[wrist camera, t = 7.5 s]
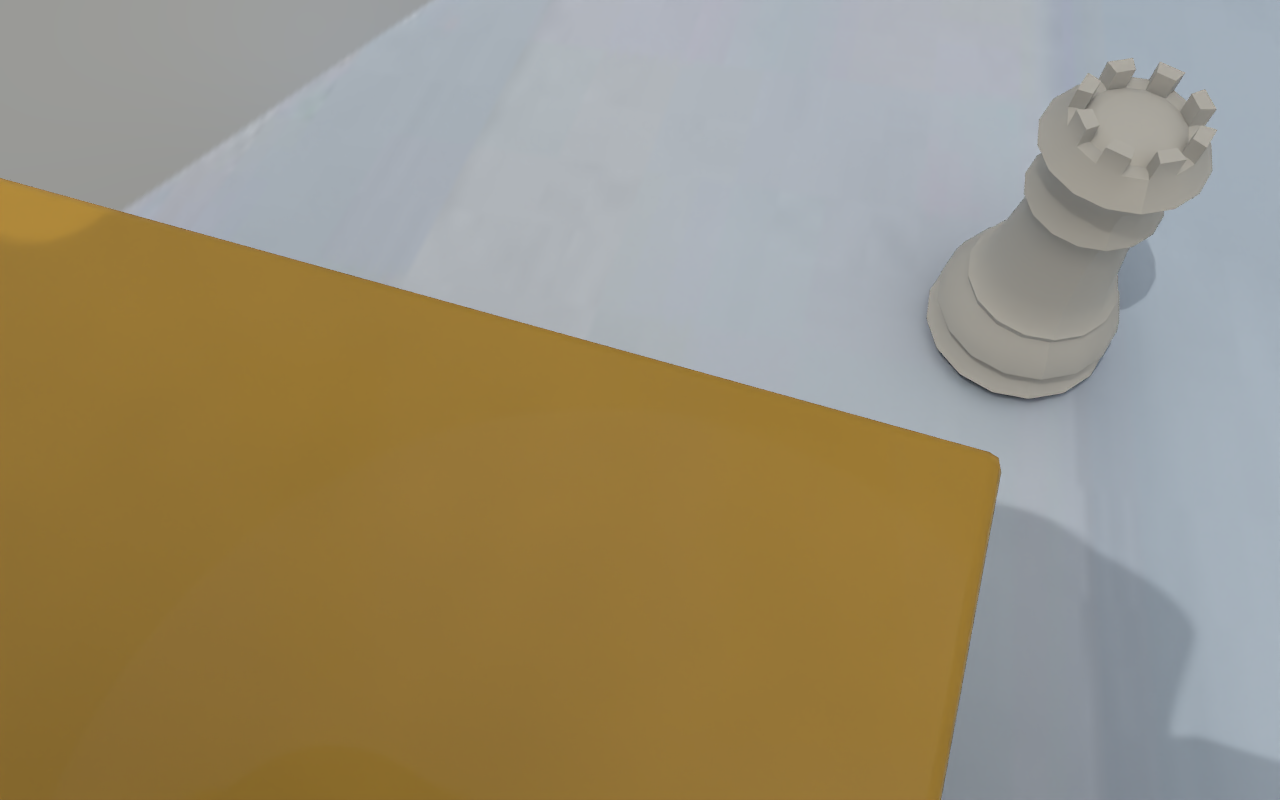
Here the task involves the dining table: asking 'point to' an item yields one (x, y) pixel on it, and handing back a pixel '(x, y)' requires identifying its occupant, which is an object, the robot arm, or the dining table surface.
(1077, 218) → the rook chess piece
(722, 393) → the ochre block
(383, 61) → the dining table surface
